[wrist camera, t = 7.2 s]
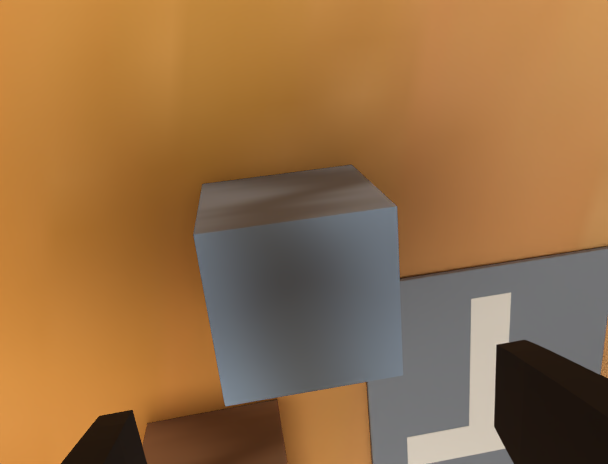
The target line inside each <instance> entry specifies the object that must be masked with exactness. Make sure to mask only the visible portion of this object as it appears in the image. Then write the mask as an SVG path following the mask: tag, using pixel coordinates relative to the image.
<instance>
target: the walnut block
mask: <svg viewBox="0 0 608 464" xmlns="http://www.w3.org/2000/svg"><path fill="white" fill-rule="evenodd" d="M142 447H143V450H144V454H145V458H146V461H147V464H287V458H286V452H285V445H284V439H283V433H282V427H281V420H280V414H279V408H278V401H277V399H275V400H270V401H264V402H259V403H254V404H248V405H243V406H238V407H232V408H227V409H222V410H216V411H211V412H205V413H200V414H195V415H189V416H184V417H179V418H173V419H168V420H163V421H157V422H152V423H147V427H146V432H145V437H144V442H143V446H142Z"/></svg>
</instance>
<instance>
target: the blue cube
mask: <svg viewBox="0 0 608 464" xmlns="http://www.w3.org/2000/svg"><path fill="white" fill-rule="evenodd" d="M193 236H194V241H195V247H196V252H197V257H198V263H199V268H200V274H201V279H202V284H203V290H204V295H205V301H206V306H207V311H208V317H209V322H210V328H211V333H212V338H213V344H214V349H215V355H216V360H217V365H218V371H219V376H220V382H221V387H222V392H223V398H224V403H225V406H230V405H236V404H242V403H248V402H253V401H259V400H265V399H271V398H276V397H282V396H288V395H294V394H299V393H305V392H311V391H317V390H322V389H328V388H334V387H340V386H345V385H351V384H357V383H363V382H368V381H374V380H380V379H386V378H391V377H397V376H403V357H402V329H401V301H400V273H399V244H398V216H397V206H396V205H395V204H394V203H393V202H392V201H391V200H390V199H389V198H388V197H386V196H385V195H384V194H383V193H382V192H381V191H380V190H379V189H378V188H377V187H375V186H374V185H373V184H372V183H371V182H370V181H369V180H368V179H367V178H366V177H364V176H363V175H362V174H361V173H360V172H359V171H358V170H357V169H356V168H355V167H354V166H352V165H345V166H338V167H330V168H322V169H314V170H307V171H299V172H291V173H284V174H276V175H268V176H260V177H253V178H245V179H237V180H230V181H222V182H214V183H207V184H202V189H201V195H200V200H199V206H198V211H197V217H196V222H195V228H194V234H193Z"/></svg>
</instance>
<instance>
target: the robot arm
mask: <svg viewBox="0 0 608 464" xmlns="http://www.w3.org/2000/svg"><path fill="white" fill-rule="evenodd" d="M494 427H495V429H496V431H497V433H498V435H499V437H500V439H501V441H502V443H503V445H504V447H505V449H506V451H507V452H508V454H509V456H510V458H511V460H512V461H513V463H514V464H608V378H606V377H604V376H602V375H600V374H597V373H595V372H593V371H591V370H589V369H587V368H585V367H583V366H581V365H579V364H577V363H575V362H573V361H571V360H569V359H567V358H565V357H563V356H561V355H558V354H556V353H554V352H552V351H550V350H548V349H546V348H544V347H541V346H539V345H537V344H535V343H532V342H530V341H527V340H520V341H514V342H509V343H503V344H497V345H496V375H495V408H494ZM61 464H147V461H146V458H145V454H144V450H143V447H142V443H141V439H140V436H139V432H138V428H137V425H136V421H135V418H134V414H133V410H130V411H124V412H119V413H113V414H107V415H102V416H99V417H98V418H97V419H96V421H95V422H94V423H93V424H92V425H91V427H90V428H89V429H88V430H87V432H86V433H85V434H84V435H83V437H82V438H81V439H80V440H79V442H78V443H77V444H76V445H75V447H74V448H73V449H72V450H71V452H70V453H69V454H68V455H67V457H66V458H65V459H64V460H63V462H62V463H61Z"/></svg>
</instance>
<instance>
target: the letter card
mask: <svg viewBox="0 0 608 464" xmlns="http://www.w3.org/2000/svg"><path fill="white" fill-rule="evenodd" d="M400 301H401V329H402V357H403V376H397V377H391V378H386V379H380V380H374V381H368V382H367V395H368V410H369V425H370V440H371V455H372V464H514V463H513V461H512V460H511V458H510V456H509V454H508V452H507V451H506V449H505V447H504V445H503V443H502V441H501V439H500V437H499V435H498V433H497V431H496V429H495V427H494V408H495V375H496V345H497V344H503V343H509V342H514V341H520V340H527V341H530V342H532V343H535V344H537V345H539V346H541V347H544V348H546V349H548V350H550V351H552V352H554V353H556V354H558V355H561V356H563V357H565V358H567V359H569V360H571V361H573V362H575V363H577V364H579V365H581V366H583V367H585V368H587V369H589V370H591V371H593V372H595V373H597V374H601V365H602V357H603V349H604V341H605V333H606V325H607V317H608V246H607V247H601V248H595V249H588V250H582V251H575V252H569V253H562V254H556V255H550V256H543V257H537V258H530V259H524V260H517V261H511V262H505V263H498V264H492V265H485V266H479V267H473V268H466V269H460V270H453V271H447V272H440V273H434V274H428V275H421V276H415V277H408V278H402V279H400Z"/></svg>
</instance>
